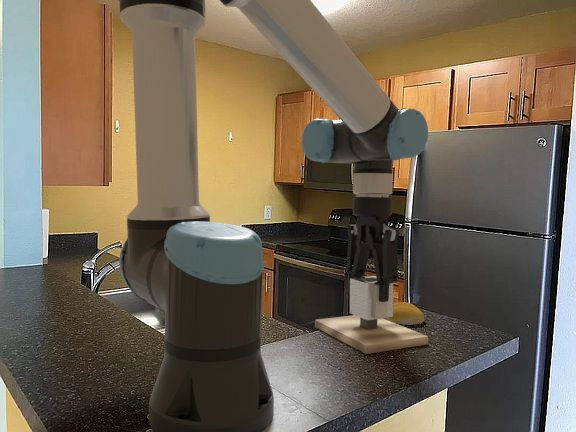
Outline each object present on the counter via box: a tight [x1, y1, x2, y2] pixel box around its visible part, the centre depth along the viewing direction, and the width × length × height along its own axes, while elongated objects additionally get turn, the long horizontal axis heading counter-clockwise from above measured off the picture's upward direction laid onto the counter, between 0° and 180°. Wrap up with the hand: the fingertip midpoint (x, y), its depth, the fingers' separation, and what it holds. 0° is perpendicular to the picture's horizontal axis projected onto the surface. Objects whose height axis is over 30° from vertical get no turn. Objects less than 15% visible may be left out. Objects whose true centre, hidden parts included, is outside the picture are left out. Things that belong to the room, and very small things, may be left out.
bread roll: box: [386, 301, 425, 326], centre depth 105 cm, size 8×9×4 cm
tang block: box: [314, 314, 429, 355], centre depth 93 cm, size 18×14×6 cm
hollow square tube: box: [349, 275, 394, 320], centre depth 93 cm, size 6×6×7 cm
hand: (369, 313), depth 93 cm, fingers closed on hollow square tube, 6 cm apart
